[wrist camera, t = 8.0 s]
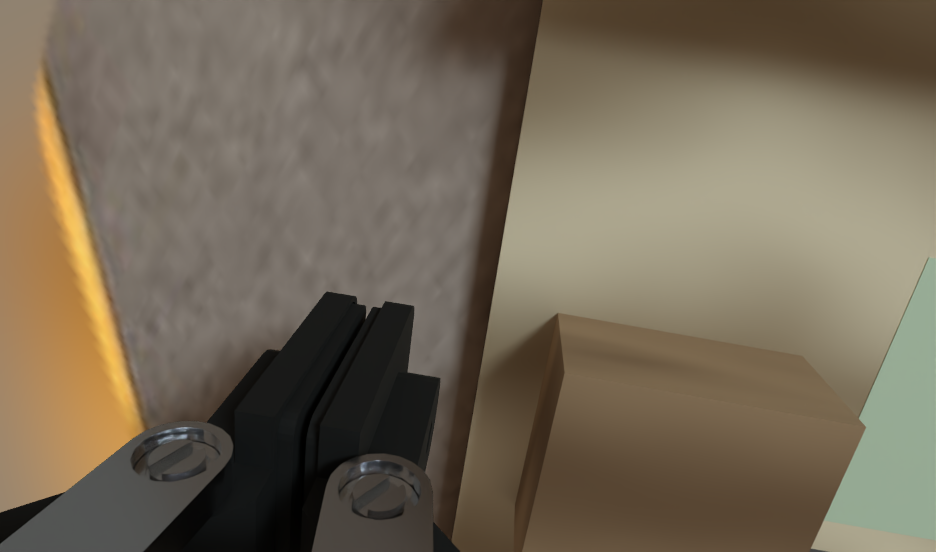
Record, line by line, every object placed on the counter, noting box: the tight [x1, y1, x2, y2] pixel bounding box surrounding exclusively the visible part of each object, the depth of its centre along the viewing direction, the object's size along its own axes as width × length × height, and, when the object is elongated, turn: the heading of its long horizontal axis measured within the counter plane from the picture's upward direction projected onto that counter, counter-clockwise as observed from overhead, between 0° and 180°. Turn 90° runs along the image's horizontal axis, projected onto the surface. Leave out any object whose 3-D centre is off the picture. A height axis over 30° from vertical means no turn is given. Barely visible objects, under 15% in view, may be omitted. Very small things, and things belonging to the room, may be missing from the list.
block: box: [513, 313, 866, 552], centre depth 15 cm, size 6×6×3 cm
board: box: [451, 0, 936, 552], centre depth 14 cm, size 22×17×4 cm
